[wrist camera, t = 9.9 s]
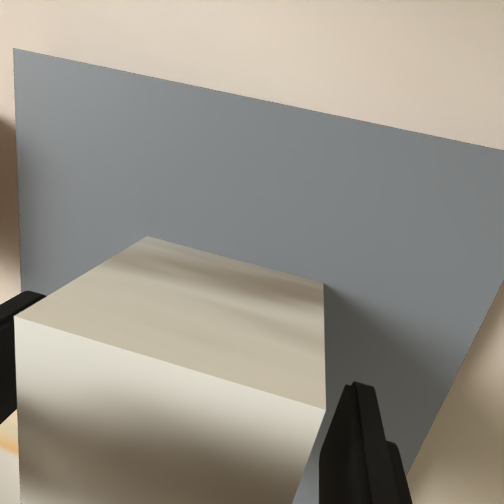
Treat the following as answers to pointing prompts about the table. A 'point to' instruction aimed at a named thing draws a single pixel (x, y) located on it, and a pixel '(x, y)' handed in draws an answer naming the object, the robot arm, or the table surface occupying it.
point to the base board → (272, 217)
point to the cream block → (170, 382)
